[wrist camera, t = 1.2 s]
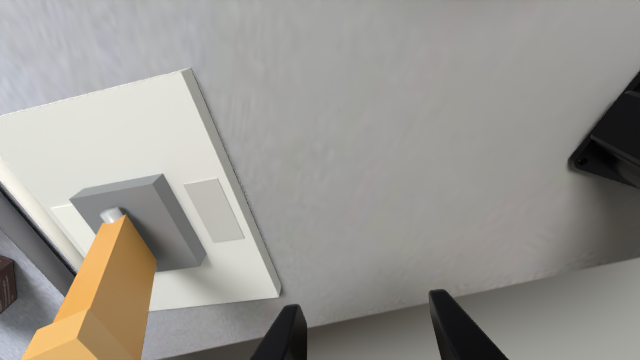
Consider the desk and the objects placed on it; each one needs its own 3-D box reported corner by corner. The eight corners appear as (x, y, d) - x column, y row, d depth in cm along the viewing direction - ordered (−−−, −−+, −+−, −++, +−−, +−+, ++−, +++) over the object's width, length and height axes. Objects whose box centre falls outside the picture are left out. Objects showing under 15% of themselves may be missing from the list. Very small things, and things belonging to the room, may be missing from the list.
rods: (-61, 136, 21) (-86, 144, 19) (-7, 122, 20) (-30, 130, 19) (90, 305, 29) (79, 318, 28) (132, 300, 28) (123, 313, 27)
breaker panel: (190, 67, 17) (169, 76, 15) (281, 285, 26) (276, 311, 24) (-7, 117, 20) (-50, 131, 17) (137, 301, 28) (120, 326, 26)
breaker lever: (125, 201, 19) (71, 332, 11) (164, 261, 22) (145, 406, 13) (95, 212, 19) (13, 357, 10) (138, 272, 21) (101, 429, 13)
